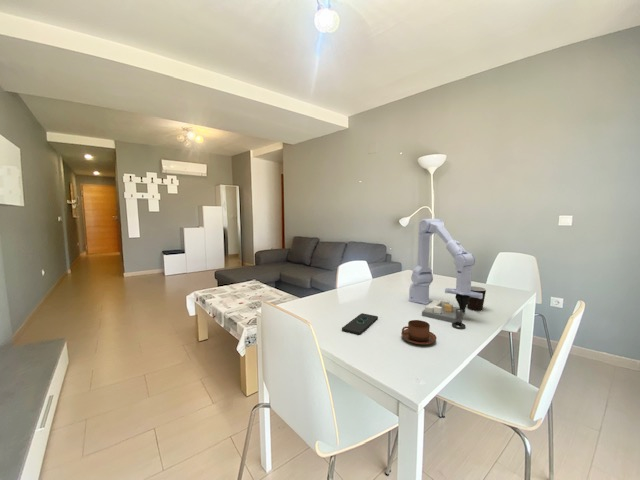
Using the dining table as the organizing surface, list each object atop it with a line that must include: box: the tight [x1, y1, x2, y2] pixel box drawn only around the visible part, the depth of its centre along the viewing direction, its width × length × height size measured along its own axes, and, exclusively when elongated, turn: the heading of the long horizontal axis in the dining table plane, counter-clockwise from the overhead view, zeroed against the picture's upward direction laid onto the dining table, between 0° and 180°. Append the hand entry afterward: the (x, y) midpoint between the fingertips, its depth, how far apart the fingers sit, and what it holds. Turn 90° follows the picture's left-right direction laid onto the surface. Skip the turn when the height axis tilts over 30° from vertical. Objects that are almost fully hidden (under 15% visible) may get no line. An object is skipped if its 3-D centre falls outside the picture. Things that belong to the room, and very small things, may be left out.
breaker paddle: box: [444, 304, 454, 312], centre depth 125 cm, size 3×2×3 cm, turn 50°
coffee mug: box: [466, 285, 487, 312], centre depth 132 cm, size 12×9×10 cm
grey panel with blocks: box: [421, 299, 466, 324], centre depth 126 cm, size 14×16×5 cm
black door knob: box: [451, 309, 466, 330], centre depth 112 cm, size 5×5×7 cm
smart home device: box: [341, 312, 379, 336], centre depth 115 cm, size 8×2×20 cm
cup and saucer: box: [401, 319, 437, 346], centre depth 101 cm, size 12×12×6 cm
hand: (462, 311), depth 121 cm, fingers closed
